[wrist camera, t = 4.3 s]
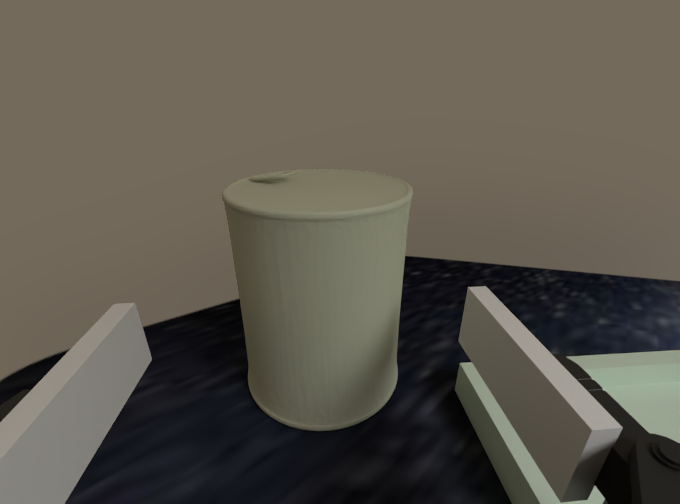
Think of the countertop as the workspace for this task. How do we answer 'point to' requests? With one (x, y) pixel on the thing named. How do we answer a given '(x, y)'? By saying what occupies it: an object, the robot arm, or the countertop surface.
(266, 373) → the can
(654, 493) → the robot arm
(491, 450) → the tray
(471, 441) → the countertop surface
